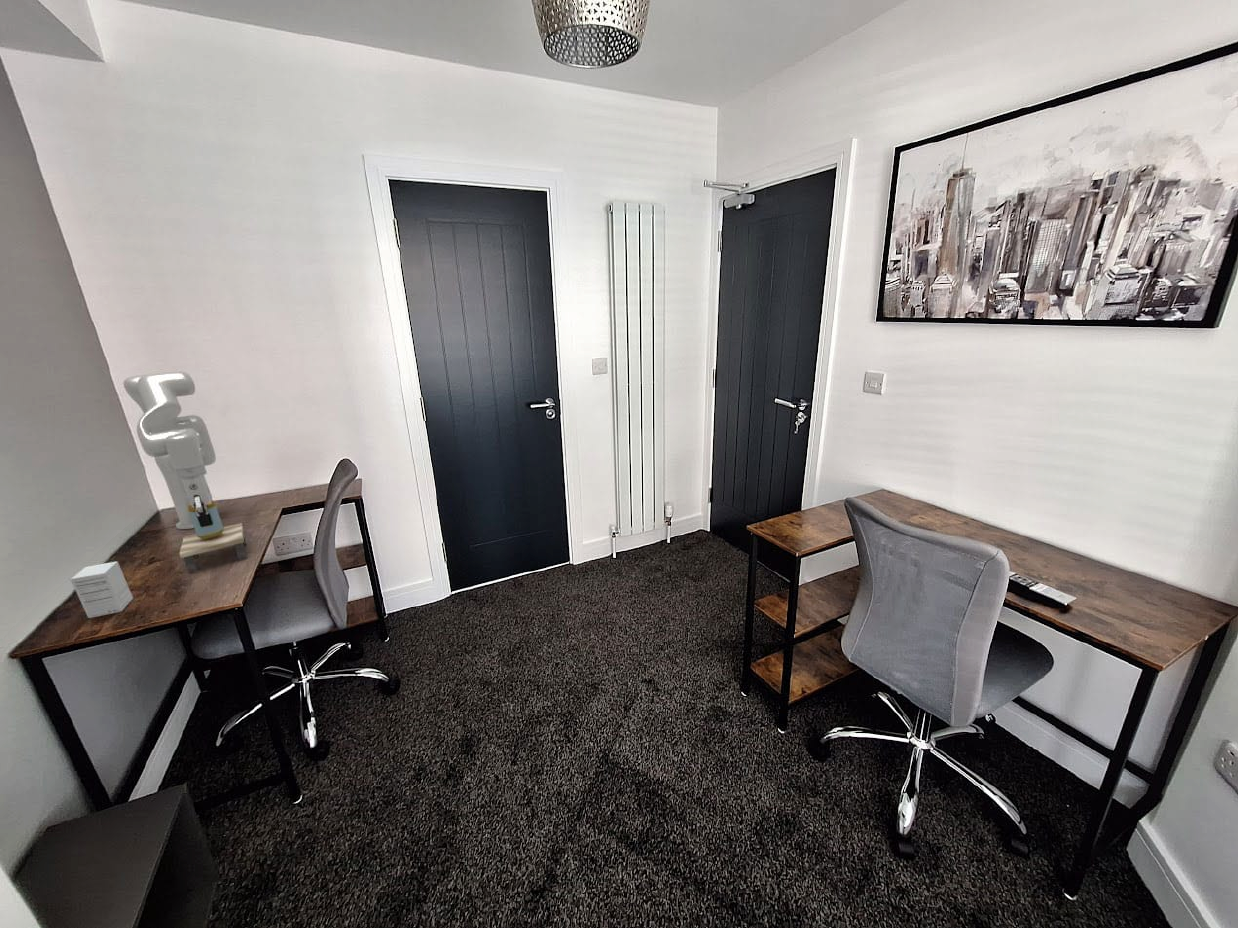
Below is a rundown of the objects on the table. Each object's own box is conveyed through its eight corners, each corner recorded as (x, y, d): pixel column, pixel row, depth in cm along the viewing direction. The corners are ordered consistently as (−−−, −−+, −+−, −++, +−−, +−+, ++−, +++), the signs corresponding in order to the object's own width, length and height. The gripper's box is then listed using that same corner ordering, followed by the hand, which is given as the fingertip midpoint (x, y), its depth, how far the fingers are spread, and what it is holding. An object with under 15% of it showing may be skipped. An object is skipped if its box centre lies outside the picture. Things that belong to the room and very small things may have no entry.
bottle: (192, 538, 160) (177, 496, 155) (213, 529, 167) (199, 488, 162) (209, 539, 159) (195, 497, 154) (229, 530, 165) (216, 489, 161)
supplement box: (101, 605, 140) (84, 566, 136) (134, 598, 143) (118, 560, 139) (86, 619, 133) (68, 579, 130) (121, 611, 136) (104, 572, 132)
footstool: (190, 556, 167) (183, 536, 165) (247, 541, 176) (241, 523, 174) (187, 574, 155) (179, 553, 152) (248, 558, 164) (242, 538, 161)
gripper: (204, 475, 151) (221, 527, 157) (206, 462, 164) (222, 511, 170) (172, 481, 147) (191, 534, 153) (177, 467, 160) (194, 517, 166)
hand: (207, 521), depth 161 cm, fingers closed on bottle, 6 cm apart
